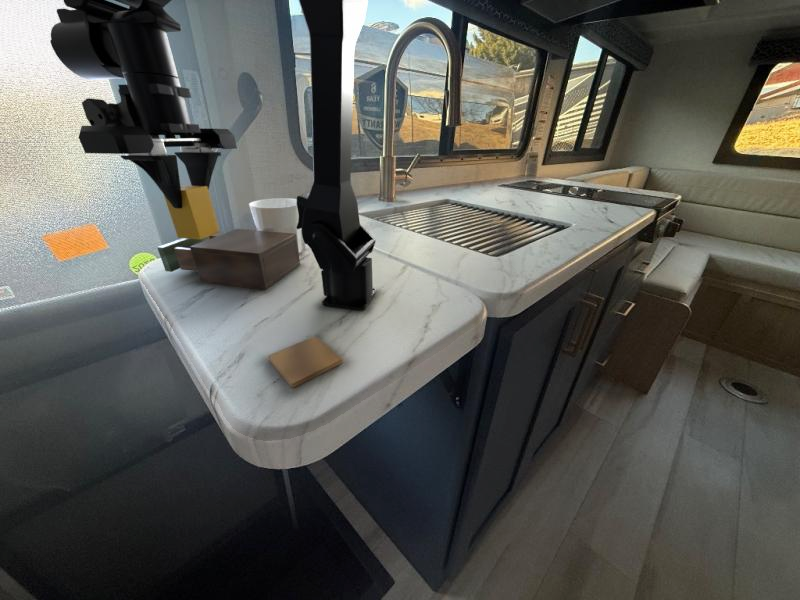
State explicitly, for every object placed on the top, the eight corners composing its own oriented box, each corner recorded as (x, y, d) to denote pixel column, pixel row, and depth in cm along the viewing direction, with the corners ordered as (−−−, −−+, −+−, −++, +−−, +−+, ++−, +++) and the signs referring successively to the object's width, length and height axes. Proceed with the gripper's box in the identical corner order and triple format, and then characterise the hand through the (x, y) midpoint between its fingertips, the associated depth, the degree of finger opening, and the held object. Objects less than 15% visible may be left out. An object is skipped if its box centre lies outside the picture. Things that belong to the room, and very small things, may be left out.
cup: (273, 242, 71) (265, 197, 66) (316, 245, 70) (310, 199, 65) (249, 257, 62) (238, 206, 58) (296, 260, 61) (289, 209, 56)
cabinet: (200, 282, 52) (189, 246, 49) (244, 259, 61) (237, 228, 58) (266, 290, 49) (258, 253, 47) (300, 265, 59) (296, 233, 56)
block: (219, 232, 50) (207, 186, 46) (200, 239, 46) (185, 190, 43) (198, 230, 50) (184, 185, 47) (177, 237, 47) (161, 189, 44)
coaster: (316, 340, 38) (315, 335, 37) (342, 363, 34) (342, 358, 34) (268, 360, 34) (267, 355, 34) (292, 388, 30) (291, 383, 30)
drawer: (159, 270, 53) (150, 246, 51) (203, 252, 62) (197, 230, 60) (221, 278, 51) (214, 253, 49) (258, 257, 60) (254, 235, 58)
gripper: (165, 88, 49) (195, 193, 56) (7, 65, 33) (78, 216, 40) (226, 86, 46) (249, 195, 54) (89, 60, 30) (149, 221, 38)
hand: (190, 205), depth 46 cm, fingers closed on block, 4 cm apart
